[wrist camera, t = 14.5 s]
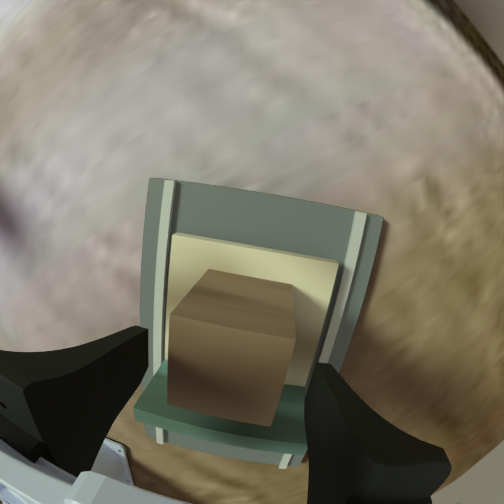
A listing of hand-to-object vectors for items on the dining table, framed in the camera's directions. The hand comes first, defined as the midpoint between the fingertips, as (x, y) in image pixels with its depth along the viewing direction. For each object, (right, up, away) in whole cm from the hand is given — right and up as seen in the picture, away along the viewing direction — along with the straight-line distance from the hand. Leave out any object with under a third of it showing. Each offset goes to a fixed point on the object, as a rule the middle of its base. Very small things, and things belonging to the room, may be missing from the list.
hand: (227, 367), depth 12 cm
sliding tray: (+1, +1, +6) cm, 6 cm away
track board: (0, -2, +8) cm, 8 cm away
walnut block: (+1, +1, +5) cm, 5 cm away
